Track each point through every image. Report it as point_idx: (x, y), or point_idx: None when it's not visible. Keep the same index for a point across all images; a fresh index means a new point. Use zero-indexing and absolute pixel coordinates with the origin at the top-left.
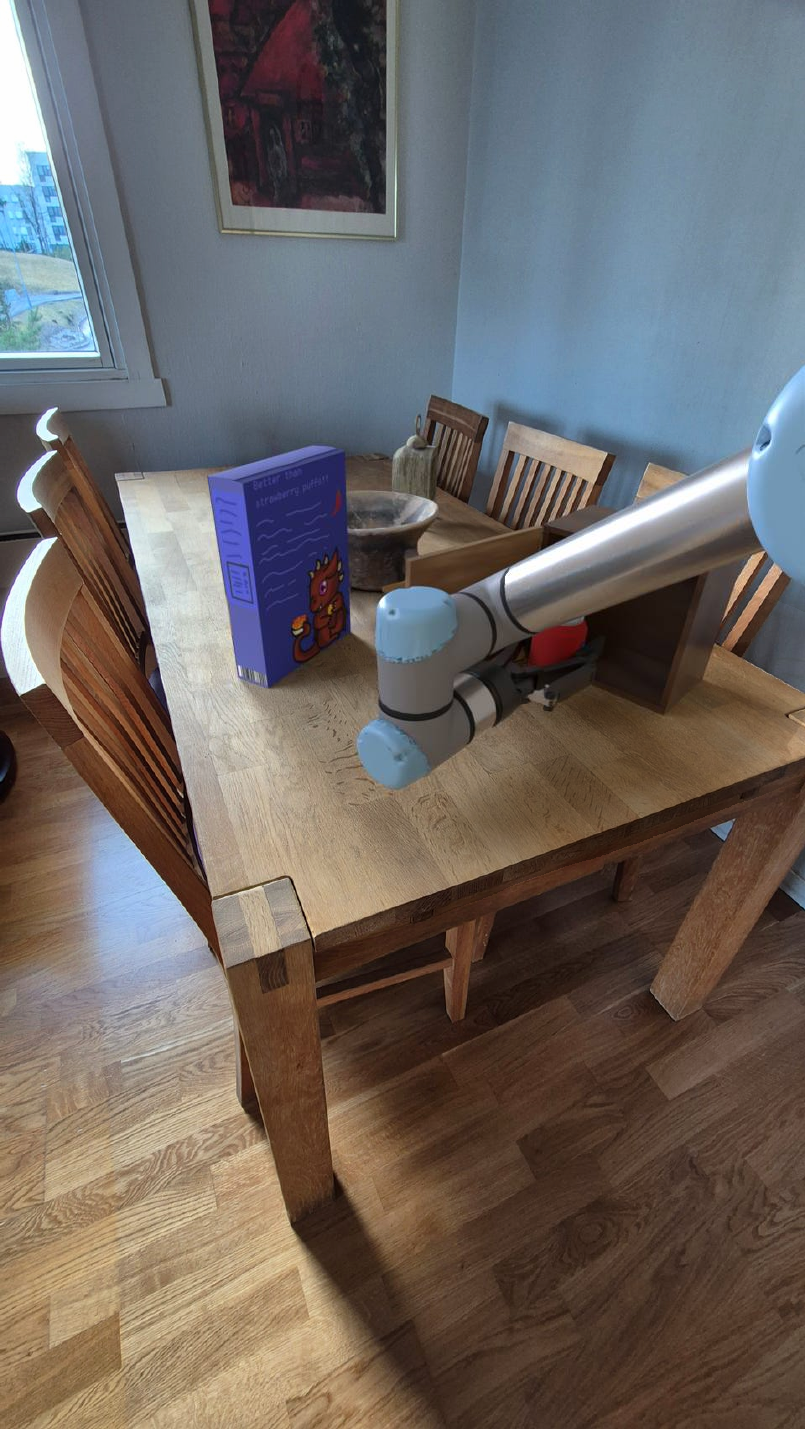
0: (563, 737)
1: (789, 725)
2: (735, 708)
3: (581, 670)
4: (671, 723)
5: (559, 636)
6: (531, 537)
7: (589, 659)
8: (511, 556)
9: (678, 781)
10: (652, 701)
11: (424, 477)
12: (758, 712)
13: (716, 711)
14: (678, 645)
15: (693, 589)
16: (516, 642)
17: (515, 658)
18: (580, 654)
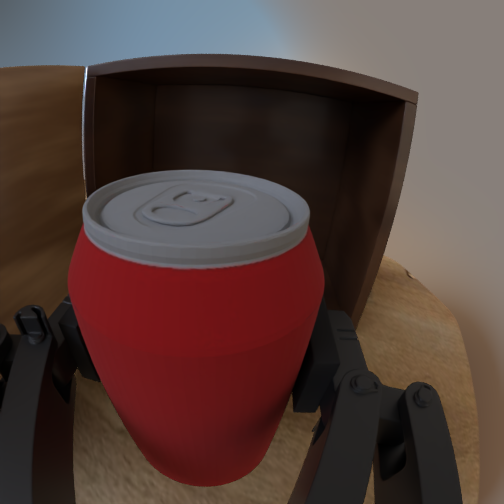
0: (278, 493)
1: (421, 285)
2: (382, 287)
3: (432, 456)
4: (370, 345)
5: (251, 344)
6: (62, 80)
7: (360, 359)
8: (18, 116)
9: (459, 436)
10: None
11: None
12: (396, 283)
13: (378, 299)
14: (381, 230)
15: (309, 156)
16: (28, 406)
17: (67, 458)
18: (340, 363)
